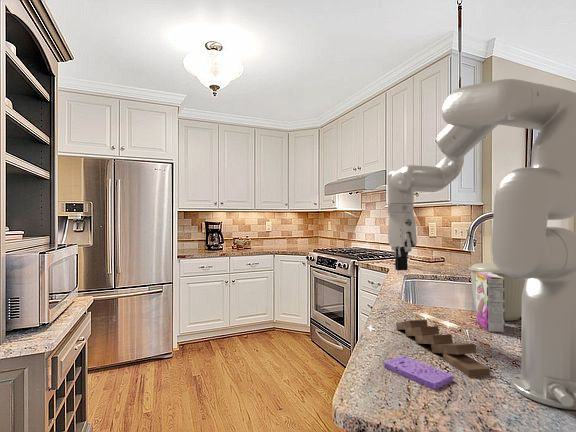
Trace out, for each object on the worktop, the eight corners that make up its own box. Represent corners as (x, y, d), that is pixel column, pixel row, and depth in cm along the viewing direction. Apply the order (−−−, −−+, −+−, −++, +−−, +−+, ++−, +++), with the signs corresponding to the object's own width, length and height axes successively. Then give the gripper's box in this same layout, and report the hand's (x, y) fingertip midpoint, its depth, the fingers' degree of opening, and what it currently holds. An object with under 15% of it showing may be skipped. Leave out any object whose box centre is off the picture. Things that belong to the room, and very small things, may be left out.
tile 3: (433, 342, 94) (452, 343, 86) (416, 343, 94) (433, 343, 85) (432, 334, 95) (451, 334, 86) (414, 335, 94) (432, 335, 86)
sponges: (403, 362, 82) (403, 354, 82) (454, 383, 72) (454, 374, 72) (382, 369, 78) (383, 361, 78) (434, 392, 68) (434, 383, 68)
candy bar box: (474, 321, 115) (474, 271, 115) (491, 322, 114) (491, 272, 114) (486, 332, 104) (486, 276, 104) (505, 333, 103) (505, 277, 103)
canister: (494, 308, 132) (494, 252, 132) (543, 322, 115) (543, 257, 115) (456, 312, 126) (456, 253, 126) (501, 327, 109) (501, 259, 109)
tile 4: (422, 335, 100) (439, 334, 92) (405, 336, 99) (421, 334, 91) (421, 328, 101) (438, 326, 92) (404, 328, 100) (420, 326, 92)
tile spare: (462, 361, 83) (489, 377, 74) (442, 362, 82) (468, 379, 74) (462, 352, 83) (489, 368, 74) (442, 353, 82) (468, 369, 74)
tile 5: (412, 329, 106) (427, 327, 98) (396, 329, 105) (411, 328, 97) (411, 322, 107) (426, 319, 98) (395, 323, 106) (409, 320, 97)
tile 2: (448, 351, 88) (476, 353, 80) (432, 352, 87) (458, 354, 79) (447, 342, 89) (474, 343, 80) (430, 343, 87) (456, 345, 79)
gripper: (424, 208, 101) (425, 272, 101) (400, 211, 116) (401, 267, 115) (400, 208, 100) (401, 273, 99) (379, 211, 115) (379, 267, 114)
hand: (401, 269), depth 107 cm, fingers closed
